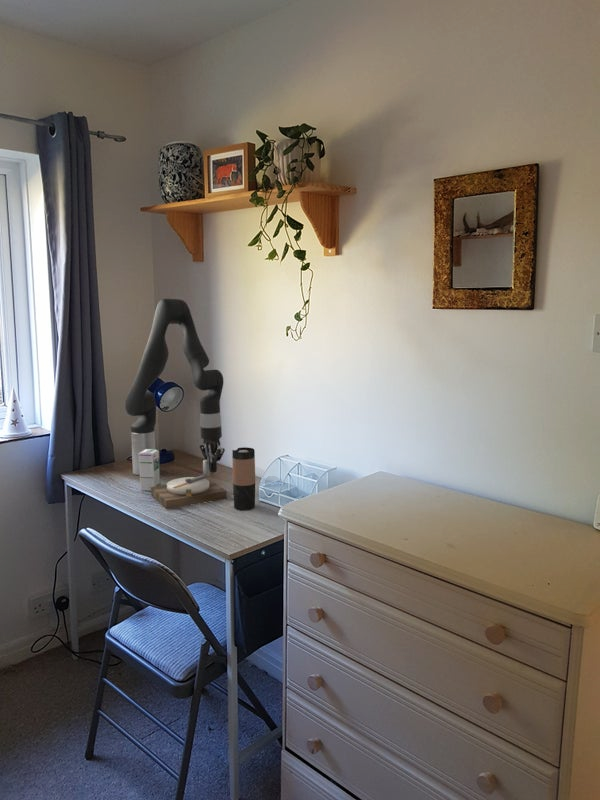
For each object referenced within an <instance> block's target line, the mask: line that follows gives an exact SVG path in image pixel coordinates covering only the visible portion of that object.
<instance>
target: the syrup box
mask: <svg viewBox="0 0 600 800" xmlns="http://www.w3.org/2000/svg"><path fill="white" fill-rule="evenodd" d="M138 454H139V470H140V475H139V484H140V485H139V486H140V490H141V491H145V490H147V491H148V492H149V491H150V492H151V487H154V486H161V485H162V482H161V480H162V479H161V468H160V467H161V465H160V463H161V462H160V450H159V449H156V448H155V449H145V450H144V451H142V452H140V453H138ZM147 491H146V492H147Z"/></svg>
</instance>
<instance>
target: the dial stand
mask: <svg viewBox="0 0 600 800" xmlns="http://www.w3.org/2000/svg"><path fill="white" fill-rule="evenodd" d="M206 479H207V480H208V481H209V489H208V490H207V491H205V492H202V493H198V494H191V489H186V495H178V494H172V493H170V492H168V491H167V484H163V485H162V484H161V486H154V487H151V491H150V494H151V496H152V497H153V498H154V499H155V500H156V501H157V502H158V503H159V504H160V505H161V506H162V507H164V509H166V510H168V509H175V508H182V507H186V506H185V505H188V506H192V505H191V504H194V505H199V504H198V503H200V504H205V503H204V502H207V503H211V502H210V501H213V502H218V501H217V500H219V501H224V499H225V500H227V499H228V498H227V497H228V496H227V495H228V494H227V490H226V489H225V488H223V487H221V486H220V485H219V484H217V483H215V482H214V481H212V480H211V479H210V478H206ZM181 506H182V507H181Z"/></svg>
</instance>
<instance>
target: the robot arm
mask: <svg viewBox="0 0 600 800" xmlns="http://www.w3.org/2000/svg"><path fill="white" fill-rule="evenodd" d="M152 321H153V322H152V326H151V330H150V332H149V333H150V334H149V336H148V341H147V344H146V346H145V349H144V351H143V354H142V358H141V361H140V364H139V367H138V370H137V372H136V375H135V378H134V380H133V383H132V384H131V387H130V388H129V391H128V393H127V395H126V398H125V403H124V404H125V411H126V413H127V414H128V415H129V416H131V417H138V418H137V420H135V421H134V422H133V423H132V424H131V426H130V436H131V437H130V438H131V439H130V440H131V458H132V461H131V462H132V474H133V475H135V476H140V470H139V454H138V453H140V452H142V451H144V450H145V449H155V450H156V438H155V437H156V436H155V434H156V433H155V427H156V423H157V402H156V397H155V395H154V394H153V392H151V391H148V390H149V388H151V386H152V385H153V383H154V382H155V381H156V380H157V379H158V378H159V377H160V376H161V375H162V374H163V371H164V370H165V367H166V365H167V362H168V360H169V349H168V345H167V341H166V334H167V331H168V327H169V325H171V324H172V325H179V327H180V328H181V330H182V333H183V343H182V346H183V347H182V348H183V352H184V355H185V358H186V359H187V362H188V363H189V366H190V369H191V373H192V380H193V384H194V386H195V388H197V389H198V390H199V391H208V393H207V395H205V396H202V397H201V398H200V400H199V409H200V415H199V416H200V417H199V421H200V423H199V424H200V426H199V427H200V438H201V439H202V443H201V444H200V445H199V449H200V451H201V454H202V456H203V458H204V460H208V462H209V471H210V473H213V474H214V473H217V470H218V469H217V468H218V467H217V462H219V461H220V462H221V459H222V457H223V455H224V453H225V451H226V449H225V448H224V447H221V441H220V439H221V438H222V437H223V433H222V432H223V431H222V429H223V428H222V416H221V406H220V405H221V403H220V402H221V396H222V392H223V388H224V377H223V374H222V372H221V371H220V370H219V369H207V370H205V368H206V367H207V366H209V364H210V358H209V357H208V355H207V352H206V350H205V348H204V346H203V345H202V342H201V341H200V338H199V336H198V332H197V330H196V327H195V322H194V320H193V317H192V313H191V311H190V308H189V306H188V303H187V302H186V301H185V300H183V299H178V298H163V299H161V300H159V302H158V303H157V306H156V308H155V312H154V316H153V320H152Z"/></svg>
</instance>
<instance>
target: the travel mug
mask: <svg viewBox="0 0 600 800" xmlns="http://www.w3.org/2000/svg"><path fill="white" fill-rule="evenodd" d="M255 452H256V451H255V449H254V448H253V447H246V446H244V447H237V449H232V454H231V455H232V491H233V492H232V493H233V509H236V510H237V511H250V510H253V509H255V508H256V457H255V456H256V455H255Z"/></svg>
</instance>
